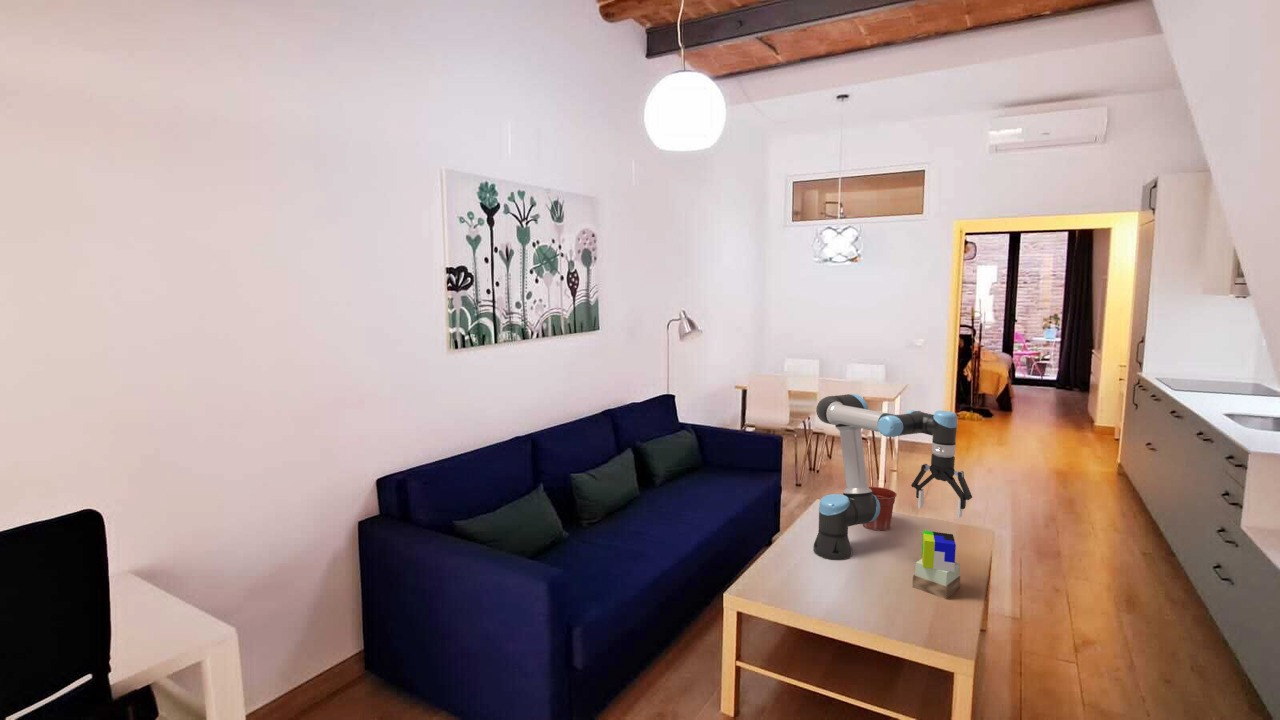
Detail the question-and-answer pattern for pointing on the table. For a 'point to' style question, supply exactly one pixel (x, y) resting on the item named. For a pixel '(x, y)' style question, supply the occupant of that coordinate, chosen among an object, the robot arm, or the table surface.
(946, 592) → the bottom slab
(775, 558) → the table surface
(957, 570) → the top slab
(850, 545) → the robot arm
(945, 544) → the puzzle toy
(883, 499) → the flower pot
